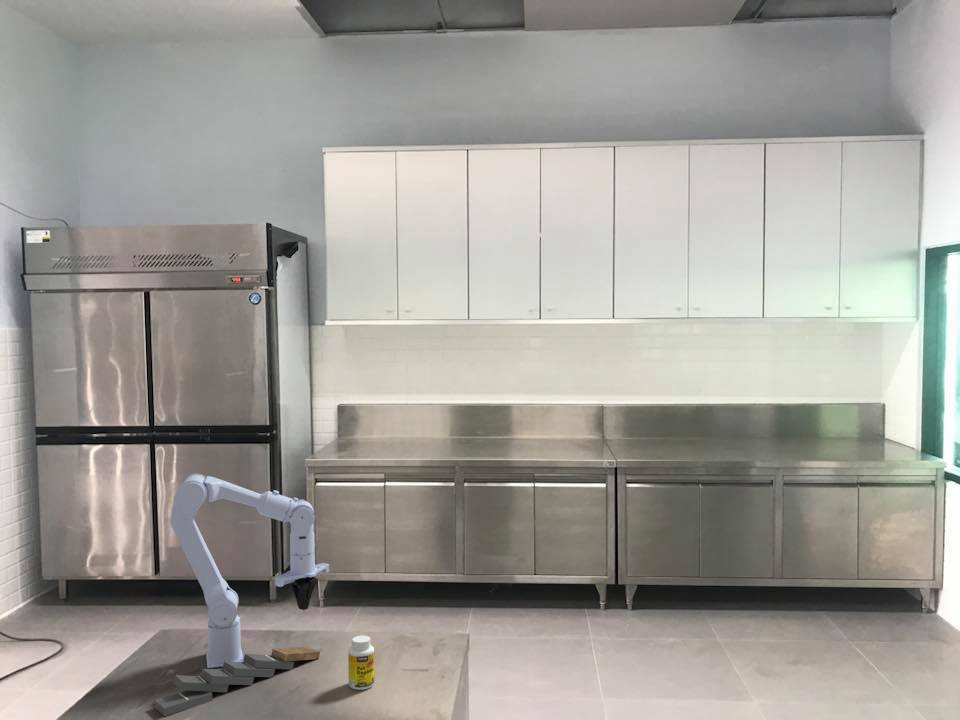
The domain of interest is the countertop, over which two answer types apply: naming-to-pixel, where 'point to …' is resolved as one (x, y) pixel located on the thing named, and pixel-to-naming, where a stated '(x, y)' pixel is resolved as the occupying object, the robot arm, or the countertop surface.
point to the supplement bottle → (361, 663)
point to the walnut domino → (295, 653)
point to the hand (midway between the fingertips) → (303, 608)
